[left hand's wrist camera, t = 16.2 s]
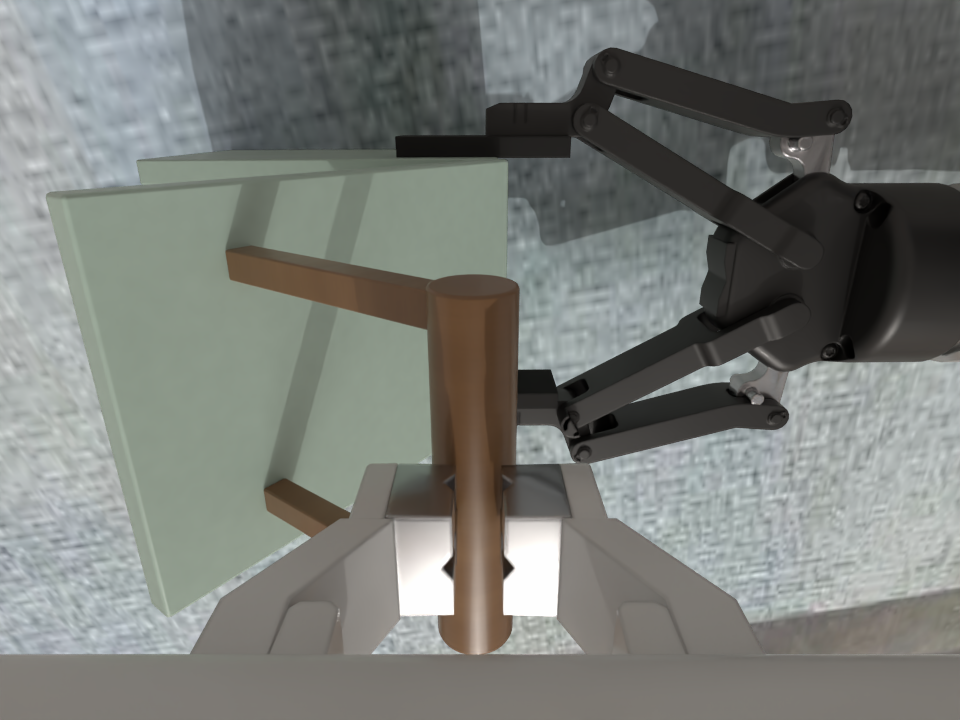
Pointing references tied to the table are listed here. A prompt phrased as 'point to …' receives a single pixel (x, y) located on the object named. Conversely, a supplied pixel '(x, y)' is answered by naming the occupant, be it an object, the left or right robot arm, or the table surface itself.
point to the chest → (271, 163)
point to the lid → (299, 360)
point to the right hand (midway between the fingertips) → (406, 277)
